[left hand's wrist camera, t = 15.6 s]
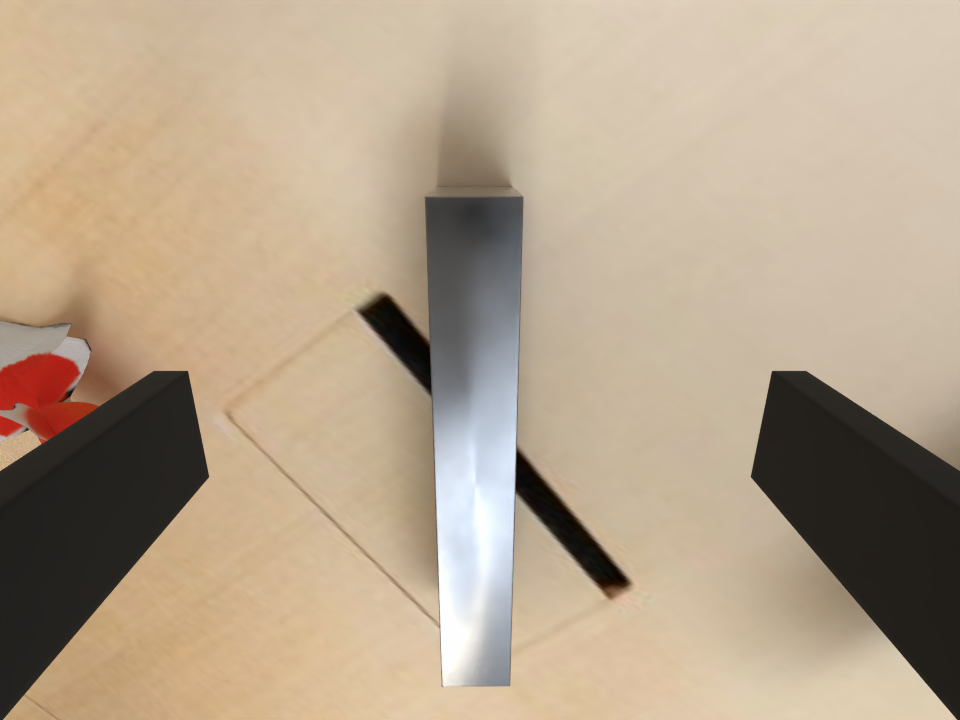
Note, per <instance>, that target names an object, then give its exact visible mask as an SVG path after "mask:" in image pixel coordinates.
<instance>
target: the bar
mask: <svg viewBox="0 0 960 720" xmlns="http://www.w3.org/2000/svg"><path fill="white" fill-rule="evenodd" d="M425 211H426V240H427V269H428V298H429V327H430V356H431V385H432V414H433V444H434V473H435V502H436V531H437V560H438V589H439V618H440V647H441V676H442V687H455V686H510V670H511V633H512V596H513V559H514V523H515V486H516V449H517V412H518V376H519V339H520V302H521V265H522V228H523V196H522V195H521V194H519V193H518V192H517V191H516V190H515V189H514V188H513V187H436V188H435V189H434V190H433V191H431V192H430V193H429V194H428V195H427V196H426V197H425Z"/></svg>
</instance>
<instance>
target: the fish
mask: <svg viewBox="0 0 960 720" xmlns="http://www.w3.org/2000/svg"><path fill="white" fill-rule="evenodd" d="M71 324H72V323H60V324H55V325H51V326H42V327H33V326H28V325H24V324H19V323H12V322H6V321H0V441H3V440H5V439H8V438H10V437H13V436H15V435H18V434H20V433H23V432H25V431H28V430H31V431H32V432H33V433H34V434H35V435H36V436H38V438H39V440H40V442H41V444H43V443H44V442H46V441H47V440H49V439H50V438H52V437H54V436H55V435H57V434H58V433H60V432H61V431H63V430H64V429H66V428H67V427H69V426H70V425H72V424H73V423H75V422H76V421H78V420H80V419H81V418H83V417H84V416H86V415H87V414H89V413H90V412H92V411H93V410H95V409H96V408H98V407H99V406H96V405H93V404H90V403H83V402H71V399H70V396H71V394H72V393H73V391H74V389H75V387H76V385H77V384H78V382H79V380H80V378H81V376H82V375H83V373H84V370H85V368H86V366H87V363H88V360H89V357H90V354H91V351H92V350H91V348H90V346H89V344H88V342H87V341H86V339H80V338H73V337H67V334H68V332H69V329H70V326H71Z"/></svg>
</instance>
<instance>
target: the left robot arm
mask: <svg viewBox="0 0 960 720" xmlns="http://www.w3.org/2000/svg"><path fill="white" fill-rule="evenodd" d="M208 478H209V474H208V469H207V464H206V459H205V454H204V449H203V444H202V439H201V434H200V429H199V424H198V419H197V414H196V409H195V404H194V399H193V394H192V389H191V384H190V379H189V374H188V371H153V372H152V373H150V374H149V375H147V376H145V377H144V378H142V379H141V380H139V381H138V382H136V383H135V384H133V385H132V386H130V387H129V388H127V389H126V390H124V391H122V392H121V393H119V394H118V395H116V396H115V397H113V398H112V399H110V400H109V401H107V402H106V403H104V404H103V405H101V406H99V407H98V408H96V409H95V410H93V411H92V412H90V413H89V414H87V415H86V416H84V417H83V418H81V419H80V420H78V421H76V422H75V423H73V424H72V425H70V426H69V427H67V428H66V429H64V430H63V431H61V432H60V433H58V434H57V435H55V436H54V437H52V438H50V439H49V440H47V441H46V442H44V443H43V444H41V445H40V446H38V447H37V448H35V449H34V450H32V451H31V452H29V453H27V454H26V455H24V456H23V457H21V458H20V459H18V460H17V461H15V462H14V463H12V464H11V465H9V466H8V467H6V468H4V469H3V470H1V471H0V720H3V719H4V718H5V717H6V715H7V714H8V713H9V712H10V711H11V709H12V708H13V707H14V706H15V705H16V704H17V702H18V701H19V700H20V699H21V698H22V697H23V695H24V694H25V693H26V692H27V691H28V689H29V688H30V687H31V686H32V685H33V684H34V682H35V681H36V680H37V679H38V678H39V677H40V675H41V674H42V673H43V672H44V671H45V669H46V668H47V667H48V666H49V665H50V664H51V662H52V661H53V660H54V659H55V658H56V657H57V655H58V654H59V653H60V652H61V651H62V649H63V648H64V647H65V646H66V645H67V644H68V642H69V641H70V640H71V639H72V638H73V637H74V635H75V634H76V633H77V632H78V631H79V629H80V628H81V627H82V626H83V625H84V624H85V622H86V621H87V620H88V619H89V618H90V617H91V615H92V614H93V613H94V612H95V611H96V609H97V608H98V607H99V606H100V605H101V604H102V602H103V601H104V600H105V599H106V598H107V597H108V595H109V594H110V593H111V592H112V591H113V589H114V588H115V587H116V586H117V585H118V584H119V582H120V581H121V580H122V579H123V578H124V577H125V575H126V574H127V573H128V572H129V571H130V569H131V568H132V567H133V566H134V565H135V564H136V562H137V561H138V560H139V559H140V558H141V557H142V555H143V554H144V553H145V552H146V551H147V549H148V548H149V547H150V546H151V545H152V544H153V542H154V541H155V540H156V539H157V538H158V537H159V535H160V534H161V533H162V532H163V531H164V529H165V528H166V527H167V526H168V525H169V524H170V522H171V521H172V520H173V519H174V518H175V517H176V515H177V514H178V513H179V512H180V511H181V509H182V508H183V507H184V506H185V505H186V504H187V502H188V501H189V500H190V499H191V498H192V497H193V495H194V494H195V493H196V492H197V491H198V489H199V488H200V487H201V486H202V485H203V484H204V482H205V481H206V480H207V479H208ZM751 478H752V479H753V480H754V481H755V482H756V484H757V485H758V486H759V487H760V488H761V489H762V491H763V492H764V493H765V494H766V495H767V497H768V498H769V499H770V500H771V501H772V502H773V504H774V505H775V506H776V507H777V508H778V509H779V511H780V512H781V513H782V514H783V515H784V517H785V518H786V519H787V520H788V521H789V522H790V524H791V525H792V526H793V527H794V528H795V529H796V531H797V532H798V533H799V534H800V535H801V537H802V538H803V539H804V540H805V541H806V542H807V544H808V545H809V546H810V547H811V548H812V549H813V551H814V552H815V553H816V554H817V555H818V557H819V558H820V559H821V560H822V561H823V562H824V564H825V565H826V566H827V567H828V568H829V569H830V571H831V572H832V573H833V574H834V575H835V577H836V578H837V579H838V580H839V581H840V582H841V584H842V585H843V586H844V587H845V588H846V589H847V591H848V592H849V593H850V594H851V595H852V597H853V598H854V599H855V600H856V601H857V602H858V604H859V605H860V606H861V607H862V608H863V609H864V611H865V612H866V613H867V614H868V615H869V617H870V618H871V619H872V620H873V621H874V622H875V624H876V625H877V626H878V627H879V628H880V629H881V631H882V632H883V633H884V634H885V635H886V637H887V638H888V639H889V640H890V641H891V642H892V644H893V645H894V646H895V647H896V648H897V649H898V651H899V652H900V653H901V654H902V655H903V657H904V658H905V659H906V660H907V661H908V662H909V664H910V665H911V666H912V667H913V668H914V669H915V671H916V672H917V673H918V674H919V675H920V677H921V678H922V679H923V680H924V681H925V682H926V684H927V685H928V686H929V687H930V688H931V689H932V691H933V692H934V693H935V694H936V695H937V697H938V698H939V699H940V700H941V701H942V702H943V704H944V705H945V706H946V707H947V708H948V709H949V711H950V712H951V713H952V714H953V715H954V717H955V718H956V719H957V720H960V471H959V470H957V469H956V468H954V467H952V466H951V465H949V464H948V463H946V462H945V461H943V460H942V459H940V458H939V457H937V456H936V455H934V454H933V453H931V452H929V451H928V450H926V449H925V448H923V447H922V446H920V445H919V444H917V443H916V442H914V441H913V440H911V439H910V438H908V437H906V436H905V435H903V434H902V433H900V432H899V431H897V430H896V429H894V428H893V427H891V426H890V425H888V424H887V423H885V422H884V421H882V420H880V419H879V418H877V417H876V416H874V415H873V414H871V413H870V412H868V411H867V410H865V409H864V408H862V407H861V406H859V405H857V404H856V403H854V402H853V401H851V400H850V399H848V398H847V397H845V396H844V395H842V394H841V393H839V392H838V391H836V390H834V389H833V388H831V387H830V386H828V385H827V384H825V383H824V382H822V381H821V380H819V379H818V378H816V377H815V376H813V375H811V374H810V373H808V372H807V371H772V374H771V379H770V384H769V389H768V394H767V399H766V404H765V409H764V414H763V419H762V424H761V429H760V434H759V439H758V444H757V449H756V454H755V459H754V464H753V469H752V474H751Z"/></svg>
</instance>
